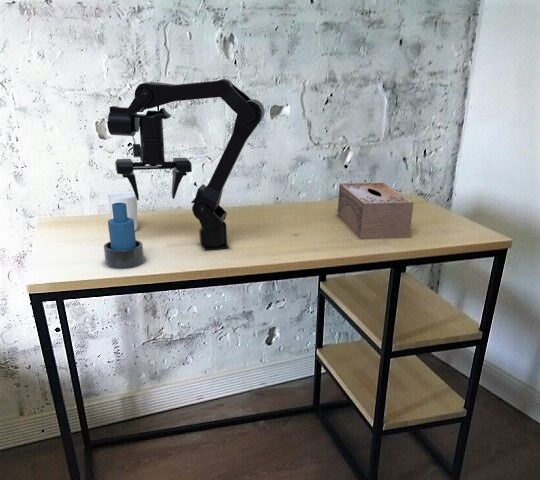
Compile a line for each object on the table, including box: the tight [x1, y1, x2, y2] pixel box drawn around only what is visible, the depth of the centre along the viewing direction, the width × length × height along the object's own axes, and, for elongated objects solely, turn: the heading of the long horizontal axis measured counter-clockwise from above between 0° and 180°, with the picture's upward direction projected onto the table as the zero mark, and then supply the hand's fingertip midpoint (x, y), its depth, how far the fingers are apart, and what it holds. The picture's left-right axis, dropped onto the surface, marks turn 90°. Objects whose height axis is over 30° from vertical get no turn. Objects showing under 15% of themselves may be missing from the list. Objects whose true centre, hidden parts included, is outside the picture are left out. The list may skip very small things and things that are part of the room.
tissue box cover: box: [337, 182, 415, 240], centre depth 169 cm, size 26×14×10 cm, turn 9°
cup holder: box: [103, 239, 145, 270], centre depth 138 cm, size 9×9×4 cm
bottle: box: [107, 203, 137, 250], centre depth 136 cm, size 6×6×14 cm
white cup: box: [107, 191, 139, 231], centre depth 162 cm, size 8×8×10 cm
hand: (155, 199), depth 147 cm, fingers open, 9 cm apart
